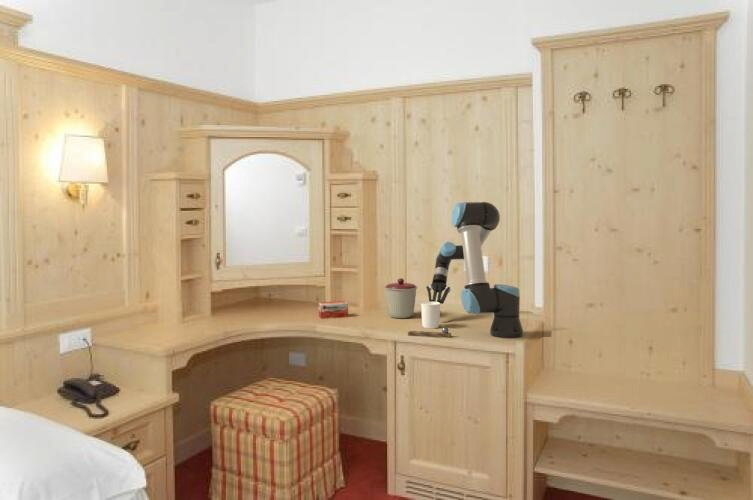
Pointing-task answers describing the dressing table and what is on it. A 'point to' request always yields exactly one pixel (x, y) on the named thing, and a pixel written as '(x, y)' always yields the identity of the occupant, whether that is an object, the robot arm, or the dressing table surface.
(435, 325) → the white cup
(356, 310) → the dressing table surface
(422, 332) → the hole rail
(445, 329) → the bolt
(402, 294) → the canister
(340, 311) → the medicine box
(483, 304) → the robot arm
